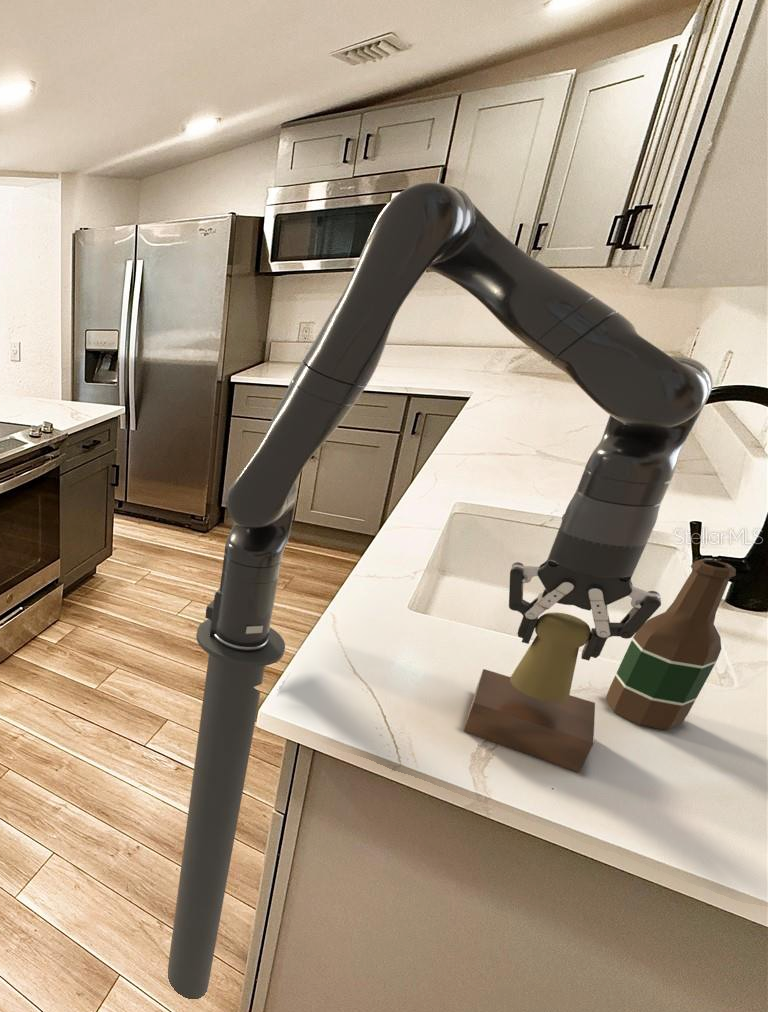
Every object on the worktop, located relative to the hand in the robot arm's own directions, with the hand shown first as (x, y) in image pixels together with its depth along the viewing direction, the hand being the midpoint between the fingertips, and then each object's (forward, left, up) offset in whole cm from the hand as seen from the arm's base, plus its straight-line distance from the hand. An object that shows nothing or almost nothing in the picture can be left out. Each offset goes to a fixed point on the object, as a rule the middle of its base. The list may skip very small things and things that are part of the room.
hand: (555, 648), depth 80 cm
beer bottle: (+12, +15, -14) cm, 24 cm away
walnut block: (0, 0, -14) cm, 14 cm away
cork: (0, 0, -7) cm, 7 cm away
